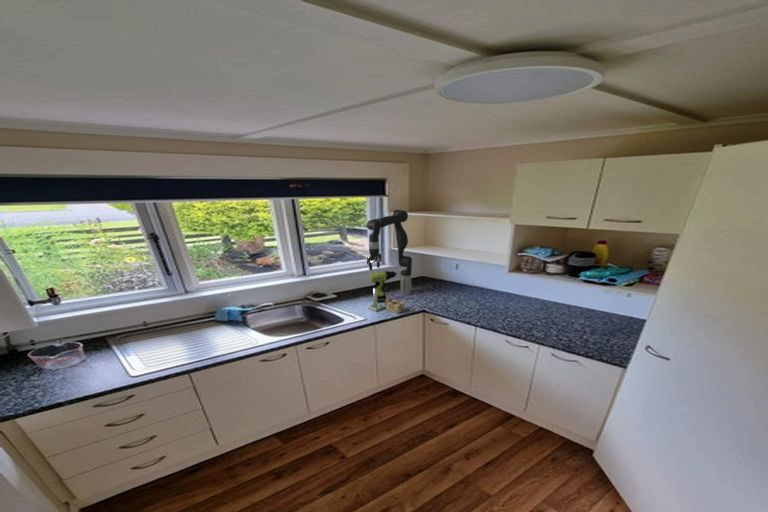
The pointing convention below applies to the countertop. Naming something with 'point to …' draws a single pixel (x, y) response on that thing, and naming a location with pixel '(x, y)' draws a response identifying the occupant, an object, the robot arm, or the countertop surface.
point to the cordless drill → (381, 283)
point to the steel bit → (375, 298)
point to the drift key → (387, 301)
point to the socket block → (395, 306)
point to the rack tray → (375, 308)
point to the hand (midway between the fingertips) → (374, 268)
